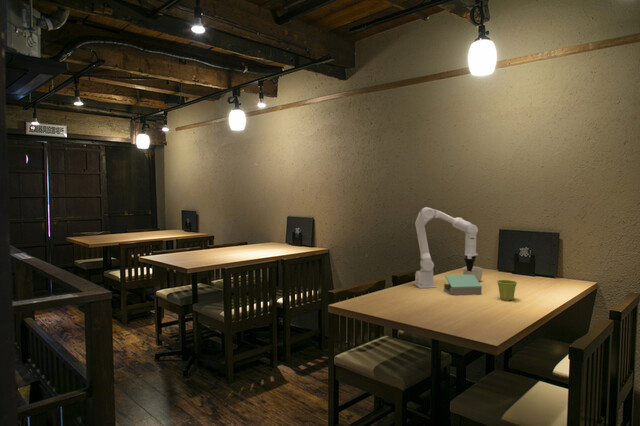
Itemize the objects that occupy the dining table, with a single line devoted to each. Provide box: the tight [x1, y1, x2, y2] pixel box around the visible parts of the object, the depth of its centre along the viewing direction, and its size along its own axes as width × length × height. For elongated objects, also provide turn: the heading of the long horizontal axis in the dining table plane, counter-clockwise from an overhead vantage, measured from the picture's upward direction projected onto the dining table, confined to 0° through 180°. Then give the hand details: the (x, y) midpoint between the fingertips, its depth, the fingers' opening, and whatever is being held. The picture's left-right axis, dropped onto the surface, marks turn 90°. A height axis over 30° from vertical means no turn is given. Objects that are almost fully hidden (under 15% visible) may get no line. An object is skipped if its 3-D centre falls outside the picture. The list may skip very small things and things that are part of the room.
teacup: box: [462, 266, 483, 282], centre depth 252 cm, size 14×11×8 cm
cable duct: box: [443, 283, 483, 296], centre depth 224 cm, size 16×10×4 cm, turn 96°
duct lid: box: [444, 274, 483, 288], centre depth 223 cm, size 16×10×1 cm, turn 96°
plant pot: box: [496, 279, 518, 301], centre depth 211 cm, size 9×9×9 cm
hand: (469, 269), depth 235 cm, fingers open, 7 cm apart
